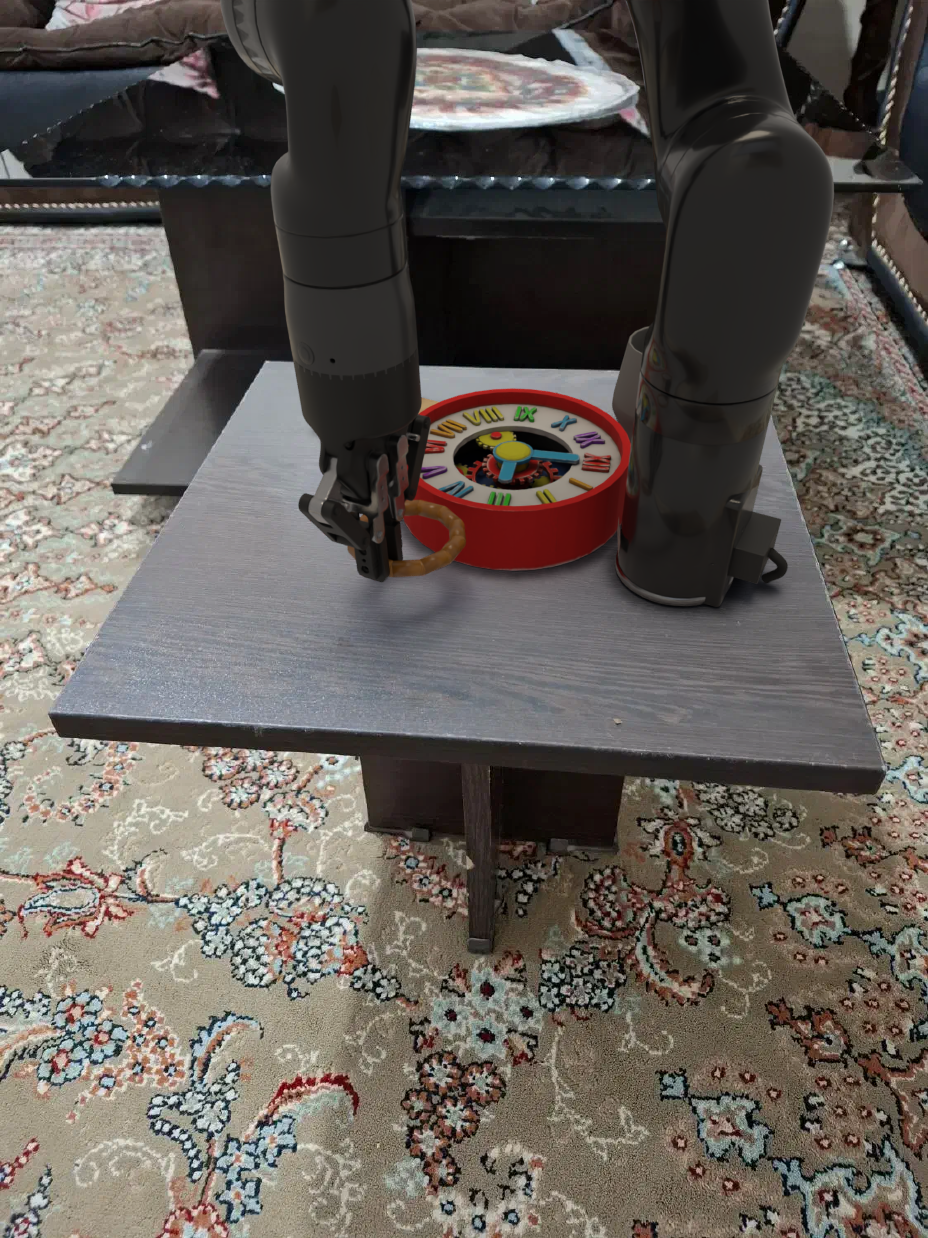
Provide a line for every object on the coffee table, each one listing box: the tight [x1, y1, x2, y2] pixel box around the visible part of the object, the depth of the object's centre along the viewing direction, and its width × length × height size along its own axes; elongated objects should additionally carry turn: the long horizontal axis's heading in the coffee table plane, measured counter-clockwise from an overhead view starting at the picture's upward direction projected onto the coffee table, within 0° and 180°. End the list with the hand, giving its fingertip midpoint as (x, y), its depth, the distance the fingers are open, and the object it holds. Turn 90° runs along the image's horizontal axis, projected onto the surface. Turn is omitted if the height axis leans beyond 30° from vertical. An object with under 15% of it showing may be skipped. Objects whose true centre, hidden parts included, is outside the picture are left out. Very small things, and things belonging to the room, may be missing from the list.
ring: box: [346, 500, 466, 578], centre depth 67 cm, size 9×9×1 cm
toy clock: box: [402, 387, 631, 572], centre depth 78 cm, size 20×6×20 cm
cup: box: [611, 326, 649, 443], centre depth 84 cm, size 10×9×10 cm
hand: (381, 568), depth 65 cm, fingers closed on ring, 1 cm apart
